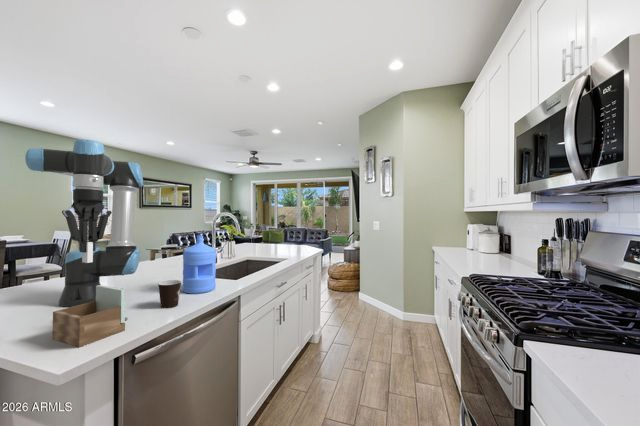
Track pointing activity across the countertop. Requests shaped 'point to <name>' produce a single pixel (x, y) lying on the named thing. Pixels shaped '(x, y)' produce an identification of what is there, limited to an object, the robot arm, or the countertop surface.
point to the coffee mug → (169, 293)
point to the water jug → (199, 268)
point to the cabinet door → (110, 300)
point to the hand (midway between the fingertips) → (87, 262)
